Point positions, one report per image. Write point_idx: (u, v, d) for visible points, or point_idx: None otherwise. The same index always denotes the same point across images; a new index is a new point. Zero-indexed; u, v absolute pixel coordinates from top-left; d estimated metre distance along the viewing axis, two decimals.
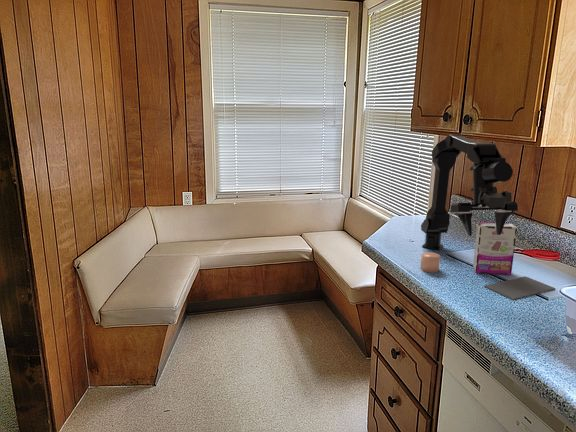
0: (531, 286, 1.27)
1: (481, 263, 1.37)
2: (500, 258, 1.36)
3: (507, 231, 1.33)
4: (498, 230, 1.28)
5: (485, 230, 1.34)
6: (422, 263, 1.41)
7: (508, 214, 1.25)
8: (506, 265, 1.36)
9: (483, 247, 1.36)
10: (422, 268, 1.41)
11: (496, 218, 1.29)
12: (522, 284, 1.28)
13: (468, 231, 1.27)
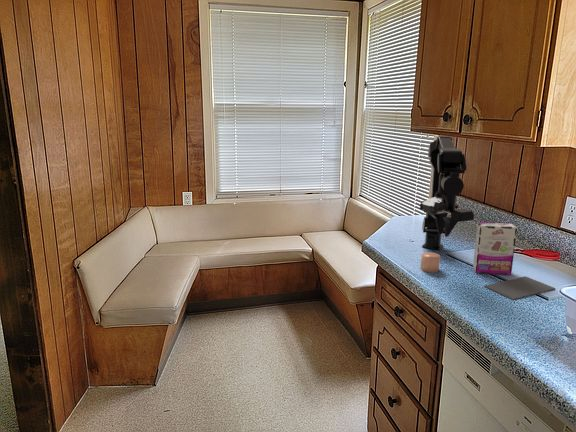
0: (531, 286, 1.27)
1: (481, 263, 1.37)
2: (500, 258, 1.36)
3: (507, 231, 1.33)
4: None
5: (485, 230, 1.34)
6: (422, 263, 1.41)
7: (446, 220, 1.34)
8: (506, 265, 1.36)
9: (483, 247, 1.36)
10: (422, 268, 1.41)
11: None
12: (522, 284, 1.28)
13: None
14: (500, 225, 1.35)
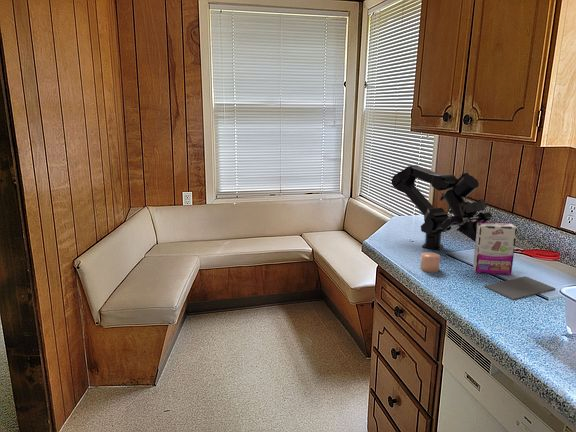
0: (531, 286, 1.27)
1: (481, 263, 1.37)
2: (500, 258, 1.36)
3: (507, 231, 1.33)
4: None
5: (485, 230, 1.34)
6: (422, 263, 1.41)
7: (478, 222, 1.45)
8: (506, 265, 1.36)
9: (483, 247, 1.36)
10: (422, 268, 1.41)
11: None
12: (522, 284, 1.28)
13: (475, 238, 1.43)
14: (500, 225, 1.35)
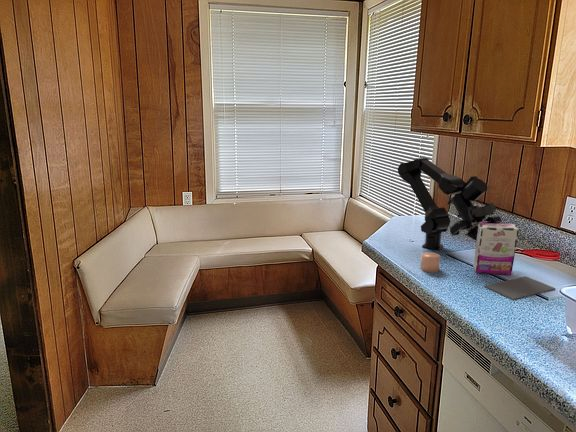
0: (531, 286, 1.27)
1: (481, 264, 1.37)
2: (501, 259, 1.35)
3: (509, 233, 1.32)
4: None
5: (486, 232, 1.33)
6: (422, 263, 1.41)
7: None
8: (507, 265, 1.35)
9: (484, 248, 1.35)
10: (422, 268, 1.41)
11: None
12: (522, 284, 1.28)
13: None
14: (502, 226, 1.33)
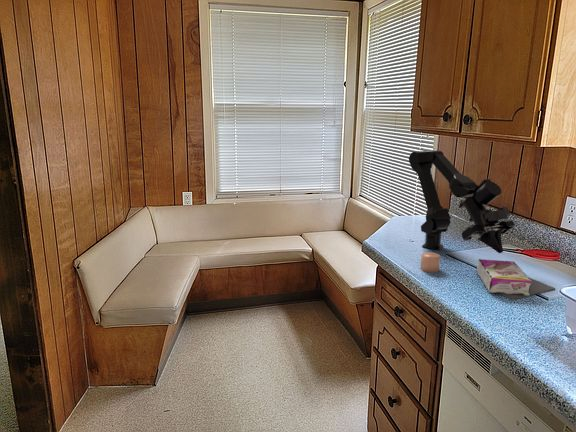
0: (531, 286, 1.27)
1: None
2: None
3: None
4: None
5: None
6: (422, 263, 1.41)
7: (500, 231, 1.37)
8: None
9: None
10: (422, 268, 1.41)
11: None
12: None
13: (497, 248, 1.35)
14: (513, 289, 1.21)
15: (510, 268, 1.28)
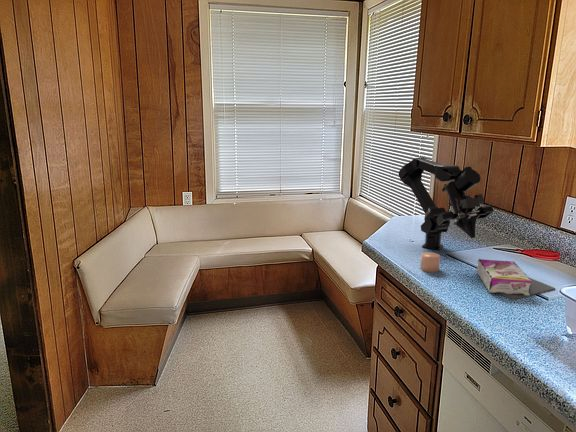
0: (531, 286, 1.27)
1: None
2: None
3: None
4: None
5: None
6: (422, 263, 1.41)
7: (475, 217, 1.43)
8: None
9: None
10: (422, 268, 1.41)
11: None
12: None
13: (470, 234, 1.42)
14: (513, 289, 1.21)
15: (510, 268, 1.28)
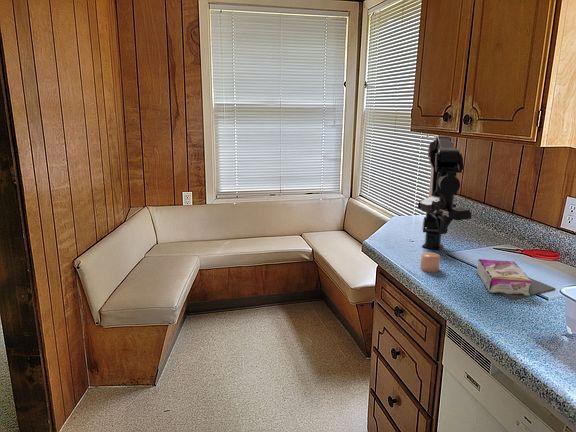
0: (531, 286, 1.27)
1: None
2: None
3: None
4: None
5: None
6: (422, 263, 1.41)
7: (441, 218, 1.36)
8: None
9: None
10: (422, 268, 1.41)
11: None
12: None
13: None
14: (513, 289, 1.21)
15: (510, 268, 1.28)
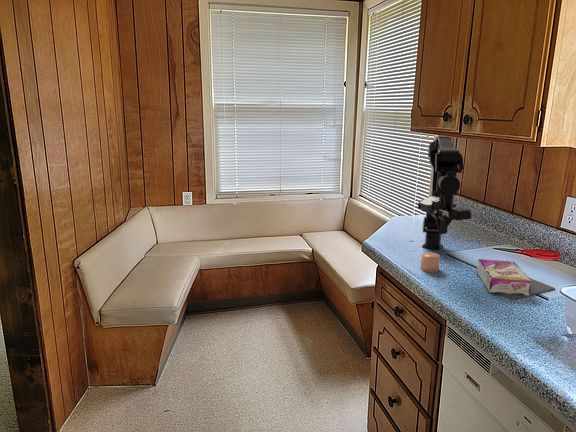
0: (531, 286, 1.27)
1: None
2: None
3: None
4: None
5: None
6: (422, 263, 1.41)
7: (441, 218, 1.36)
8: None
9: None
10: (422, 268, 1.41)
11: None
12: None
13: None
14: (513, 289, 1.21)
15: (510, 268, 1.28)
